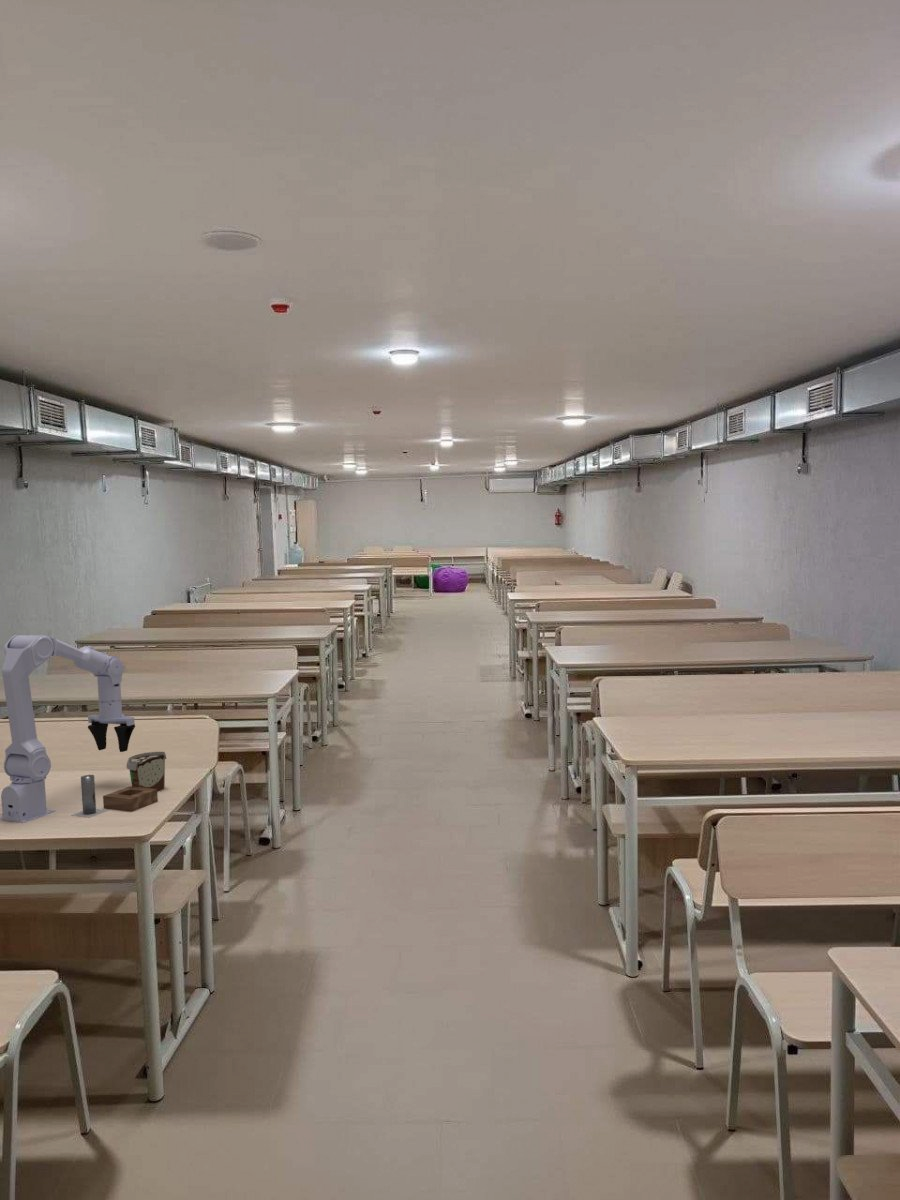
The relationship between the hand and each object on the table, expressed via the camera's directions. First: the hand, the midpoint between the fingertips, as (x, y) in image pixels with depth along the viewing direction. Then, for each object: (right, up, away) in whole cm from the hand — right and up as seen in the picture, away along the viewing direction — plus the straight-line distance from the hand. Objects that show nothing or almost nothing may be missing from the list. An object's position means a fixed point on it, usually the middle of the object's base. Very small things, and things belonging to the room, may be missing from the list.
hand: (112, 750), depth 239 cm
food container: (+11, -10, -7) cm, 17 cm away
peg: (+3, -11, -24) cm, 27 cm away
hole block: (+11, -11, -18) cm, 24 cm away
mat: (+3, -12, -24) cm, 27 cm away
